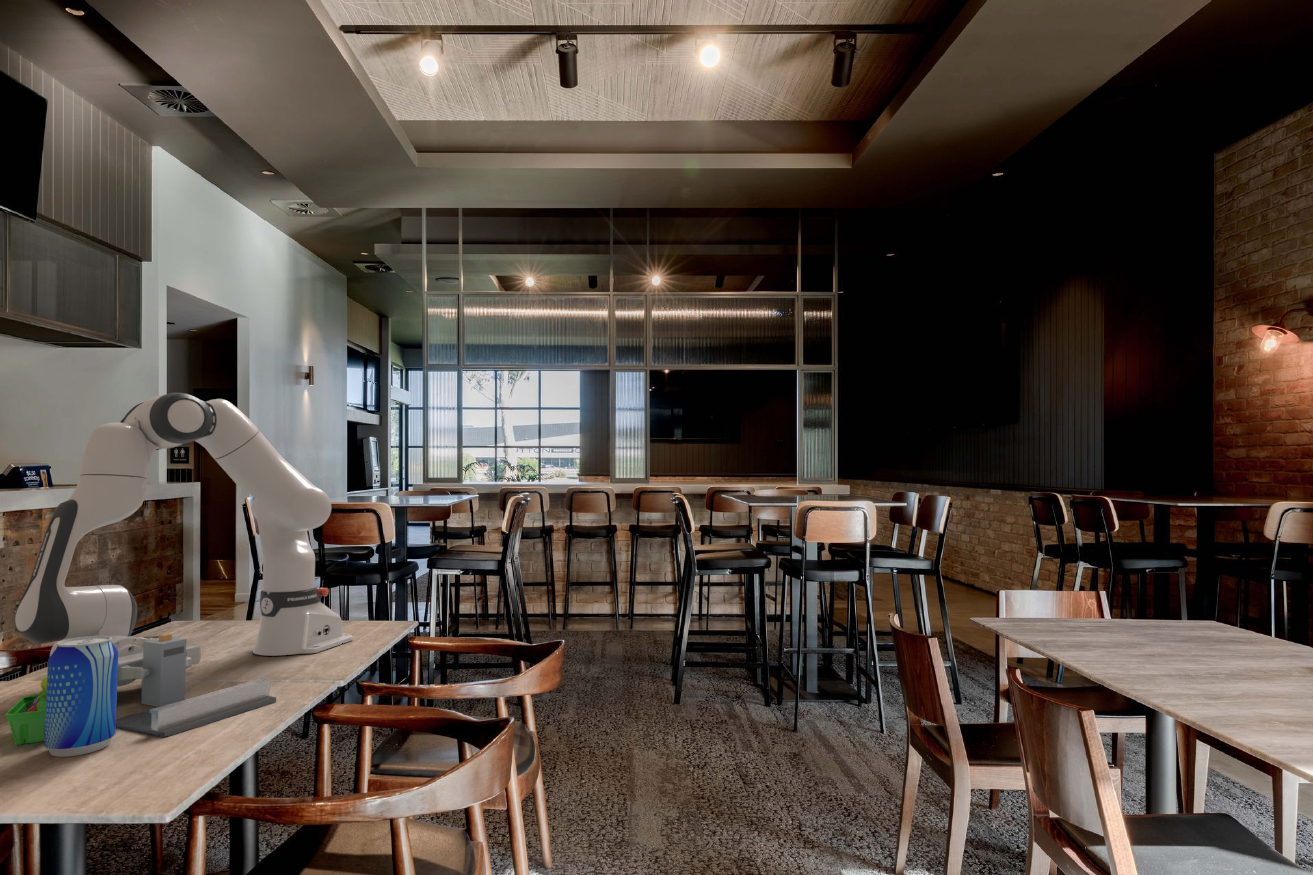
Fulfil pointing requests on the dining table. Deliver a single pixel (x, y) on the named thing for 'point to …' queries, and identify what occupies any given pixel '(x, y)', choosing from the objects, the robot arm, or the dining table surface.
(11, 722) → the fruit basket
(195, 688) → the dining table surface
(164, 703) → the module
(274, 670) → the dining table surface
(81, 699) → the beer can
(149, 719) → the rail plate
